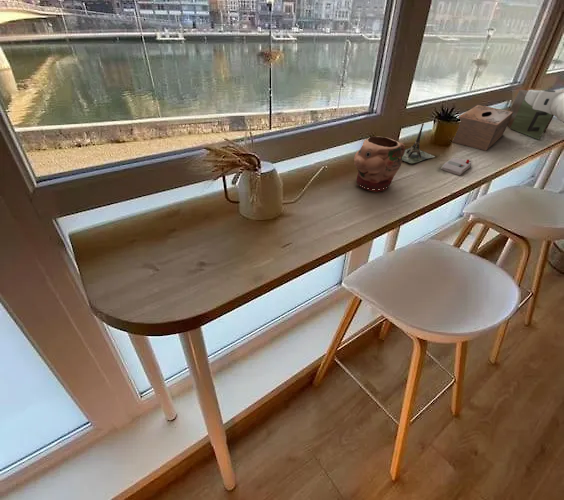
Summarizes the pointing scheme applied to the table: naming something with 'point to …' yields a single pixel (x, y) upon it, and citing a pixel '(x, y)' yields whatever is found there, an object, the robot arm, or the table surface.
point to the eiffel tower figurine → (416, 152)
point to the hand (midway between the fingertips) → (550, 93)
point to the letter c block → (530, 121)
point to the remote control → (456, 166)
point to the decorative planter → (378, 162)
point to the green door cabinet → (517, 105)
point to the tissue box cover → (482, 126)
